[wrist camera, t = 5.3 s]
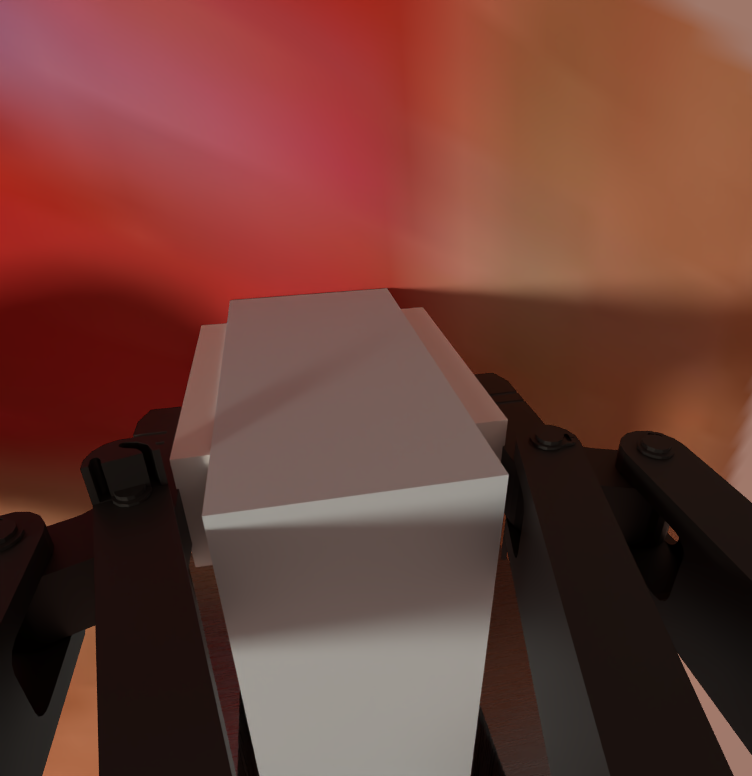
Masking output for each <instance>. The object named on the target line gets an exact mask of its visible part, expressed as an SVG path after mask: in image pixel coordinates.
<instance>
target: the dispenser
mask: <svg viewBox="0 0 752 776" xmlns="http://www.w3.org/2000/svg"><path fill="white" fill-rule="evenodd" d="M501 552H502V548H501V546H500V548H499V555H498V563H497V571H496V579H495V587H494V595H493V603H492V610H491V618H490V626H489V634H488V642H487V650H486V658H485V665H484V673H483V681H482V689H481V697H480V705H479V713H478V721H477V728H476V736H475V744H474V752H473V760H472V768H471V776H551V773H550V768H549V763H548V757H547V752H546V747H545V742H544V737H543V732H542V726H541V721H540V716H539V711H538V706H537V701H536V695H535V690H534V685H533V680H532V675H531V670H530V665H529V659H528V654H527V649H526V644H525V639H524V634H523V628H522V623H521V618H520V613H519V608H518V603H517V598H516V592H515V587H514V582H513V577H512V572H511V567H510V563H509V561H508V559H507V557H506V560H501ZM189 568H190V572H191V576H192V580H193V585H194V589H195V593H196V598H197V602H198V607H199V611H200V616H201V620H202V625H203V629H204V633H205V638H206V642H207V647H208V651H209V656H210V660H211V665H212V669H213V673H214V678H215V682H216V687H217V691H218V696H219V700H220V704H221V709H222V713H223V718H224V722H225V727H226V731H227V736H228V740H229V744H230V749H231V753H232V758H233V762H234V767H235V771H236V776H259V772H258V767H257V763H256V758H255V754H254V749H253V745H252V740H251V736H250V731H249V727H248V722H247V717H246V713H245V708H244V704H243V699H242V695H241V690H240V686H239V681H238V677H237V672H236V668H235V663H234V659H233V654H232V650H231V645H230V641H229V636H228V632H227V627H226V623H225V618H224V614H223V609H222V605H221V600H220V596H219V591H218V587H217V582H216V578H215V573H214V569H213V565H208V566H201V567H195V563H194V559H193V555H192V554H191V557H190V564H189Z"/></svg>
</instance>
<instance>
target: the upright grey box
mask: <svg viewBox="0 0 752 776" xmlns="http://www.w3.org/2000/svg"><path fill="white" fill-rule="evenodd" d="M508 477H509V474H508V473H507V471H506V470H505V468H504V467H503V465H502V464H501V462H500V461H499V459H498V457H497V456H496V454H495V453H494V451H493V450H492V448H491V447H490V445H489V444H488V442H487V441H486V439H485V438H484V436H483V434H482V433H481V431H480V430H479V428H478V427H477V425H476V424H475V422H474V421H473V419H472V418H471V416H470V415H469V413H468V411H467V410H466V408H465V407H464V405H463V404H462V402H461V401H460V399H459V398H458V396H457V395H456V393H455V392H454V390H453V388H452V387H451V385H450V384H449V382H448V381H447V379H446V378H445V376H444V375H443V373H442V372H441V370H440V369H439V367H438V366H437V364H436V362H435V361H434V359H433V358H432V356H431V355H430V353H429V352H428V350H427V349H426V347H425V346H424V344H423V343H422V341H421V339H420V338H419V336H418V335H417V333H416V332H415V330H414V329H413V327H412V326H411V324H410V323H409V321H408V320H407V318H406V316H405V315H404V313H403V312H402V310H401V309H400V307H399V306H398V304H397V303H396V301H395V300H394V298H393V297H392V295H391V293H390V292H389V290H388V289H387V288H384V289H371V290H358V291H345V292H332V293H319V294H306V295H293V296H280V297H267V298H254V299H240V300H230V305H229V312H228V320H227V328H226V335H225V343H224V351H223V358H222V366H221V374H220V381H219V389H218V397H217V404H216V412H215V420H214V427H213V435H212V443H211V450H210V458H209V466H208V473H207V481H206V489H205V496H204V504H203V512H202V519H203V524H204V528H205V533H206V537H207V542H208V546H209V551H210V555H211V560H212V564H213V569H214V573H215V578H216V582H217V587H218V591H219V596H220V600H221V605H222V609H223V614H224V618H225V623H226V627H227V632H228V636H229V641H230V645H231V650H232V654H233V659H234V663H235V668H236V672H237V677H238V681H239V686H240V690H241V695H242V699H243V704H244V708H245V713H246V717H247V722H248V727H249V731H250V736H251V740H252V745H253V749H254V754H255V758H256V763H257V767H258V772H259V776H471V768H472V760H473V752H474V744H475V736H476V728H477V721H478V713H479V705H480V697H481V689H482V681H483V673H484V665H485V658H486V650H487V642H488V634H489V626H490V618H491V610H492V603H493V595H494V587H495V579H496V571H497V563H498V555H499V548H500V540H501V532H502V524H503V516H504V508H505V500H506V492H507V485H508Z"/></svg>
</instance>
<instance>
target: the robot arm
mask: <svg viewBox="0 0 752 776" xmlns="http://www.w3.org/2000/svg"><path fill="white" fill-rule="evenodd" d="M401 310H402V312H403V313H404V315H405V316H406V318H407V320H408V321H409V323H410V324H411V326H412V327H413V329H414V330H415V332H416V333H417V335H418V336H419V338H420V339H421V341H422V343H423V344H424V346H425V347H426V349H427V350H428V352H429V353H430V355H431V356H432V358H433V359H434V361H435V362H436V364H437V366H438V367H439V369H440V370H441V372H442V373H443V375H444V376H445V378H446V379H447V381H448V382H449V384H450V385H451V387H452V388H453V390H454V392H455V393H456V395H457V396H458V398H459V399H460V401H461V402H462V404H463V405H464V407H465V408H466V410H467V411H468V413H469V415H470V416H471V418H472V419H473V421H474V422H475V424H476V425H477V427H478V428H479V430H480V431H481V433H482V434H483V436H484V438H485V439H486V441H487V442H488V444H489V445H490V447H491V448H492V450H493V451H494V453H495V454H496V456H497V457H498V459H499V461H500V462H501V464H502V465H503V467H504V468H505V470H506V471H507V473H508V474H509V477H508V485H507V492H506V500H505V508H504V513H505V515H506V522H505V529H504V537H503V545H502V552H501V560H506V556H507V552H508V556H509V561H510V567H511V572H512V577H513V582H514V587H515V592H516V598H517V603H518V608H519V613H520V618H521V623H522V628H523V634H524V639H525V644H526V649H527V654H528V659H529V665H530V670H531V675H532V680H533V685H534V690H535V695H536V701H537V706H538V711H539V716H540V721H541V726H542V732H543V737H544V742H545V747H546V752H547V757H548V763H549V768H550V773H551V776H733V774H732V771H731V769H730V767H729V765H728V762H727V760H726V758H725V756H724V754H723V752H722V750H721V747H720V745H719V743H718V741H717V738H716V736H715V734H714V732H713V730H712V728H711V725H710V723H709V721H708V719H707V717H706V715H705V712H704V710H703V708H702V706H701V704H700V702H699V699H698V697H697V695H696V693H695V691H694V688H693V686H692V684H691V682H690V680H689V677H688V675H687V673H686V671H685V669H684V667H683V664H682V662H681V660H680V658H679V656H680V657H681V658H682V660H683V661H684V663H685V664H686V665H687V667H688V668H689V669H690V671H691V672H692V674H693V675H694V676H695V678H696V679H697V680H698V682H699V683H700V685H701V686H702V687H703V688H704V690H705V691H706V693H707V694H708V696H709V697H710V698H711V700H712V701H713V702H714V704H715V705H716V707H717V708H718V709H719V711H720V712H721V713H722V715H723V716H724V718H725V719H726V720H727V722H728V723H729V724H730V726H731V727H732V729H733V730H734V731H735V733H736V734H737V735H738V737H739V738H740V739H741V741H742V742H743V744H744V745H745V746H746V748H747V749H748V751H749V752H750V753H751V755H752V503H751V502H750V501H749V500H748V499H747V498H746V497H744V496H743V495H742V494H741V493H740V492H739V491H737V490H736V489H735V488H734V487H733V486H731V485H730V484H729V483H728V482H727V481H726V480H724V479H723V478H722V477H721V476H720V475H719V474H717V473H716V472H715V471H714V470H713V469H712V468H710V467H709V466H708V465H707V464H706V463H705V462H703V461H702V460H701V459H700V458H699V457H697V456H696V455H695V454H694V453H693V452H692V451H690V450H689V449H688V448H687V447H686V446H685V445H683V444H682V443H680V442H679V441H677V440H675V439H674V438H671V437H669V436H666V435H664V434H662V433H658V432H652V431H635V432H631V433H627V434H626V435H624V436H623V437H622V438H621V441H620V445H619V449H618V450H608V449H595V448H587V447H583V446H582V444H581V442H580V441H579V440H578V438H577V437H576V436H575V435H574V434H572V433H571V432H569V431H567V430H566V429H563V428H559V427H556V426H552V425H545V424H544V423H543V422H542V420H541V419H540V418H539V417H538V416H537V415H536V413H535V412H534V411H533V410H532V409H531V408H530V406H529V405H528V404H527V403H526V402H524V401H523V398H522V397H521V396H520V395H519V394H518V393H516V390H515V389H514V388H513V387H512V385H511V384H510V383H509V382H508V381H507V380H505V379H503V378H501V377H500V376H498V375H496V374H494V373H485V374H475V375H474V374H473V373H472V372H471V370H470V369H469V368H468V366H467V365H466V364H465V362H464V361H463V360H462V358H461V357H460V356H459V354H458V353H457V352H456V350H455V349H454V348H453V346H452V345H451V344H450V342H449V341H448V340H447V338H446V337H445V336H444V334H443V333H442V332H441V331H440V329H439V328H438V327H437V325H436V324H435V323H434V321H433V320H432V319H431V317H430V316H429V315H428V313H427V312H426V311H425V309H424V308H423V307H419V308H407V309H401ZM226 328H227V323H225V324H213V325H201V330H200V334H199V338H198V342H197V346H196V351H195V355H194V359H193V363H192V367H191V372H190V376H189V380H188V384H187V388H186V392H185V397H184V401H183V405H182V407H173V408H163V409H154V410H150V411H149V412H148V413H147V414H146V415H145V416H144V417H143V418H142V419H141V420H140V421H139V422H138V423H137V426H136V429H135V432H134V434H133V436H134V437H133V438H129V439H122V440H117V441H114V442H111V443H108V444H105V445H103V446H101V447H99V448H98V449H96V450H94V451H92V452H91V453H90V454H89V455H88V456H87V457H86V458H85V459H84V460H83V462H82V465H81V468H80V470H81V473H82V476H83V479H84V481H85V484H86V487H87V490H88V493H89V496H90V499H91V502H92V505H93V509H92V510H90V511H88V512H86V513H84V514H82V515H79V516H77V517H74V518H71V519H68V520H65V521H62V522H59V523H56V524H53V525H50V526H47V527H46V524H45V522H44V521H43V519H42V518H41V516H40V515H37V514H34V513H31V512H13V513H9V514H5V515H1V516H0V776H42V775H43V771H44V768H45V765H46V761H47V758H48V755H49V751H50V748H51V745H52V741H53V738H54V735H55V731H56V728H57V725H58V721H59V718H60V715H61V711H62V708H63V705H64V702H65V698H66V695H67V692H68V688H69V685H70V682H71V678H72V675H73V672H74V668H75V665H76V662H77V658H78V655H79V652H80V648H81V645H82V642H83V639H84V635H85V629H87V628H90V627H92V626H95V625H96V665H97V707H98V748H99V776H236V771H235V767H234V762H233V758H232V753H231V749H230V744H229V740H228V736H227V731H226V727H225V722H224V718H223V713H222V709H221V704H220V700H219V696H218V691H217V687H216V682H215V678H214V673H213V669H212V665H211V660H210V656H209V651H208V647H207V642H206V638H205V633H204V629H203V625H202V620H201V616H200V611H199V607H198V602H197V598H196V593H195V589H194V585H193V580H192V576H191V572H190V568H189V564H190V557H191V550H192V555H193V559H194V563H195V567H201V566H208V565H213V564H212V560H211V555H210V551H209V546H208V542H207V537H206V533H205V528H204V524H203V519H202V512H203V504H204V496H205V489H206V481H207V473H208V466H209V458H210V450H211V443H212V435H213V427H214V420H215V412H216V404H217V397H218V389H219V381H220V374H221V366H222V358H223V351H224V343H225V335H226ZM669 525H670V526H671V528H672V529H673V530H674V531H675V532H676V534H677V535H678V536H679V540H678V541H677V542H676V541H675V540H674V539H673V538H672V537H671V536H670V535H669V534H668V533H667V532H668V528H669ZM678 654H679V656H678Z"/></svg>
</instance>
